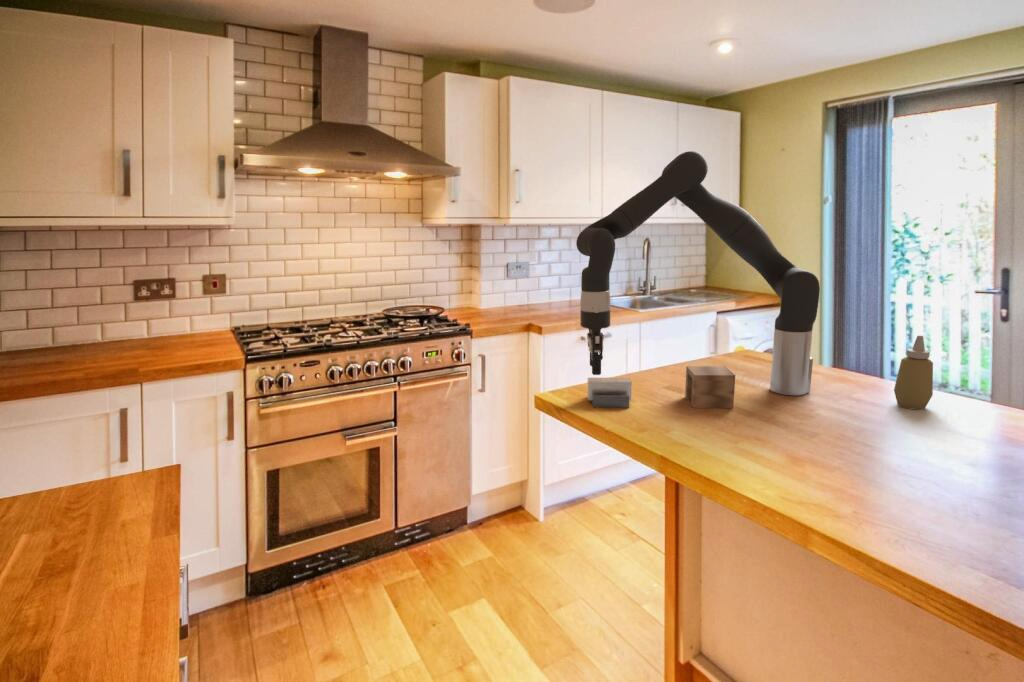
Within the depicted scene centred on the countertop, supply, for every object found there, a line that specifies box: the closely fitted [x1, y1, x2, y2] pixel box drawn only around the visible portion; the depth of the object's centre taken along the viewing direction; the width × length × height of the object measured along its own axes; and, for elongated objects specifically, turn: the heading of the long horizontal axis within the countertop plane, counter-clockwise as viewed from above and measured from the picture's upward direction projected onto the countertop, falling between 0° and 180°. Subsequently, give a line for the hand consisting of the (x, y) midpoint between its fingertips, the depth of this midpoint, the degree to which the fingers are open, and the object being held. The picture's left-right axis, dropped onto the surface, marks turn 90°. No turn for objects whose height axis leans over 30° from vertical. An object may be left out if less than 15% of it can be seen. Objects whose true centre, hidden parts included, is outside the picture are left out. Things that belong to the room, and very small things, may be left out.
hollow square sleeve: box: [684, 365, 736, 409], centre depth 157 cm, size 10×9×8 cm
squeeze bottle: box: [893, 335, 934, 410], centre depth 150 cm, size 8×8×18 cm
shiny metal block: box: [587, 377, 633, 402], centre depth 158 cm, size 11×4×5 cm, turn 85°
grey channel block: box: [591, 395, 630, 409], centre depth 159 cm, size 9×10×3 cm
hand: (595, 370), depth 157 cm, fingers open, 8 cm apart
